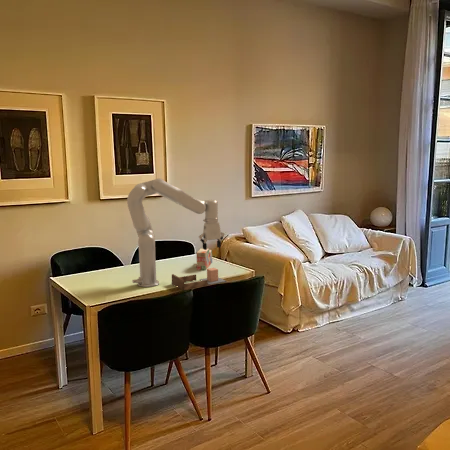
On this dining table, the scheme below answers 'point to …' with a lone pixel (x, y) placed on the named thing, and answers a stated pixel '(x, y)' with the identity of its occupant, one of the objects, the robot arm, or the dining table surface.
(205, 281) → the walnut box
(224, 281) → the slate mat
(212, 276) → the terracotta block
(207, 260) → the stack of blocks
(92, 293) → the dining table surface
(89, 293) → the dining table surface
